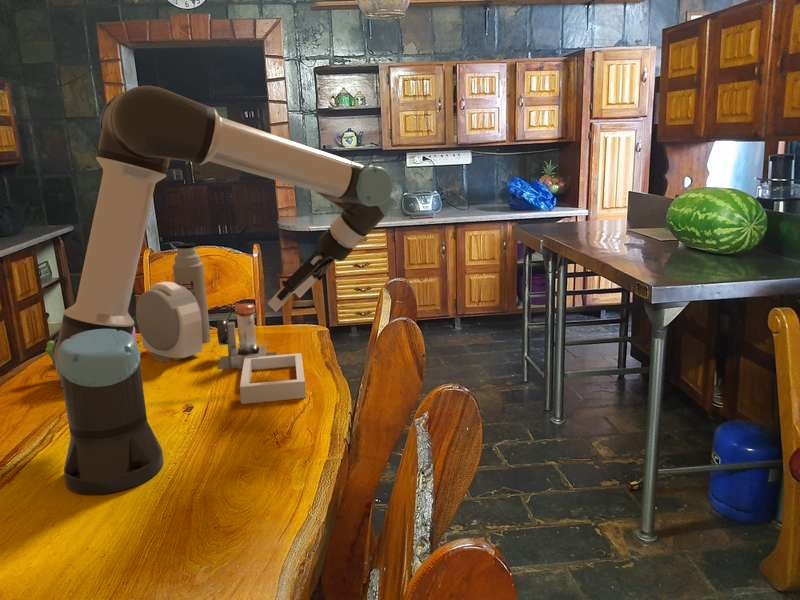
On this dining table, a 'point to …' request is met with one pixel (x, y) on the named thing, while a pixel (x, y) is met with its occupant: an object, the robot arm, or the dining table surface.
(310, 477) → the dining table surface
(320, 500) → the dining table surface
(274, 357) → the tray
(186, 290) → the beige rounded housing
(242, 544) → the dining table surface
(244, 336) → the pin
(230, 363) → the block
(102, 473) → the robot arm
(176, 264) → the thermos bottle
